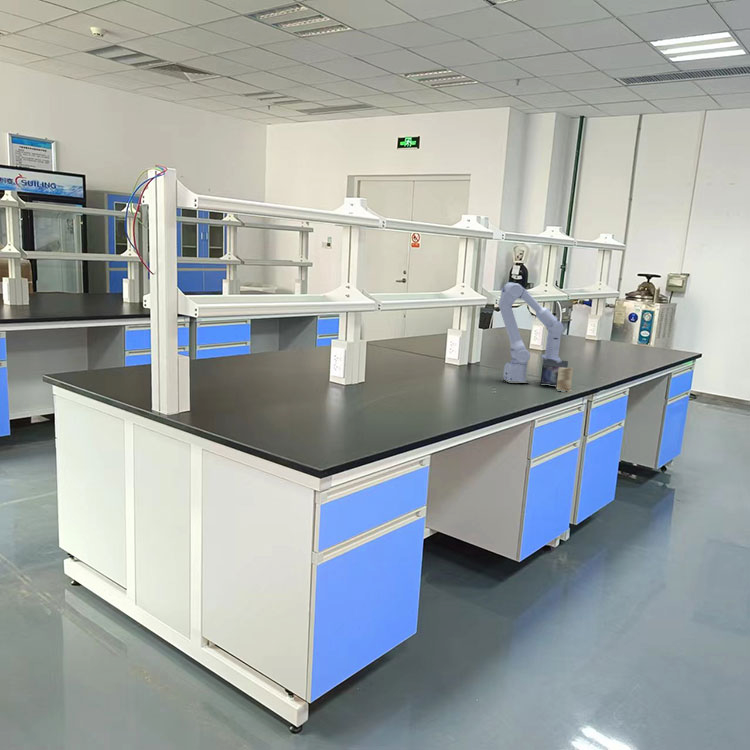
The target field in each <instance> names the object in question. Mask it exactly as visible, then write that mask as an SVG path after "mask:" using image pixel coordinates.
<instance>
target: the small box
mask: <svg viewBox="0 0 750 750" xmlns="http://www.w3.org/2000/svg"><path fill="white" fill-rule="evenodd" d="M568 365H569V361H568V360H562V362H560V363H557V362H556V361H554V360H552V359H542V364H541V375H540V376H541V377H540V383H541V384H550V385H556V386H557V378H558V370H559V368H569V366H568ZM540 383H539V384H540Z"/></svg>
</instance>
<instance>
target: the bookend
mask: <svg viewBox="0 0 750 750" xmlns="http://www.w3.org/2000/svg"><path fill="white" fill-rule="evenodd" d="M573 373H574V368H573V367H567V368H559V370H558V378H557V386H556V387H555V390H556V389H562V390H565V391H572V392H573V390H572V389H571V388H572V381H573V380H572V379H573Z"/></svg>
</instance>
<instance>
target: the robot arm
mask: <svg viewBox="0 0 750 750" xmlns="http://www.w3.org/2000/svg"><path fill="white" fill-rule="evenodd" d="M500 292H501V293H500V298H499V302H498V308H499V311H500V314H501V318H502V320H503V323H504V327H505V329H506V333H507V336H508V339H509V343H510V345H509V347H510V357H511V360H510V362H505V364H504V367H503V373H502V374H503V375H502V376H503V377H502V379H503V378H504V379H506V380H508V381H519V382H524V381H526V378H527V371H528V370H527V369H528V361H529V360H530V359H531V358H530V357H531V353H530V351H529V350H528V349H527V348H526V345H525V344H524V342H523V340H522V336H521V333H520V330H519V327H518V324H517V320H516V318H515V314H514V311H513V308H512V307H513V305H514V303H515V301H516V300H517V299H519V300H522V301H524V302H525V303H526V305H528V306H529V307H530V308H531V309H532V310H533V311H534V312H535V317H536V318H537V320H538V321H540V323H541V324H542V325H543V326H544V327H546V328H545V329H546V330H547V337H546V344H545V345H546V346H545V352H544V354H541V360H543V359H552V360H554V361H556V362H557V363H560V362H562V361H563V360H561V357H560V356H559V354H560V348H561V347H560V346H561V336H562V335H561V334H562V333H563V332H564V331H565V327H564V324H563V322H561V321H560V320H558V317H557V316H556V315H554V314H553V313H552V312H551V309H550V308H549V307H548V308H547V307H545V306H544V307H543V306H541V305H540V304H539V302H538V301H537V300H536V299H535V298H534V297H533V296H532V295H531V293H530V292H529V291H528V290H527V289H526V288H525V287H523V286H522V285H521V284H520V283H516V282H511V281H510V282H509V281H508V282H507V283H506V284H504V285H503V286H502V288H501V290H500ZM526 382H527V381H526Z"/></svg>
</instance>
